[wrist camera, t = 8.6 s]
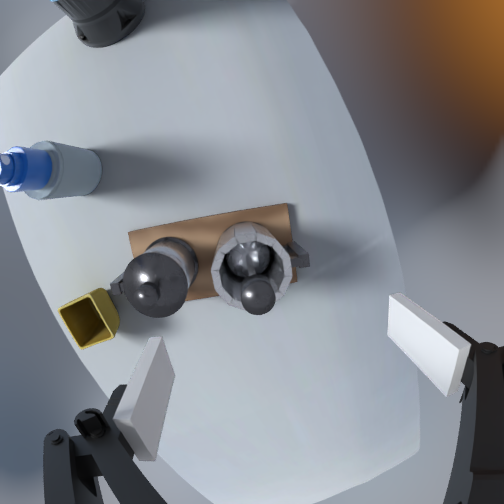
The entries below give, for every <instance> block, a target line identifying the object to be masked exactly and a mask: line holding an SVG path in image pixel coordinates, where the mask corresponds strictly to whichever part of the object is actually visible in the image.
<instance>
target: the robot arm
mask: <svg viewBox="0 0 504 504" xmlns="http://www.w3.org/2000/svg"><path fill="white" fill-rule="evenodd" d="M50 1H52V2H53V3H55V4H56V5H57V6H58V7H59V8H60V9H61V10H62V11H63V12H64V13H65V14H66V15H67V16H68V17H70V18H71V19H72V20H73V24H74V28H75V32H76V35H77V37H78V38H79V40H80V41H82V42H83V43H84V44H85V45H87V46H89V47H104V46H108V45H111V44H113V43H116V42H118V41H119V40H121V39H123V38H124V37H126V36H127V35H128V34H130V33H131V32H132V31H133V30H134V29H135V28H136V27H137V25H138V24H139V23H140V21H141V19H142V17H143V15H144V11H145V6H144V2H143V0H50ZM387 335H388V336H389V337H390V338H391V339H392V340H393V341H394V342H395V343H396V344H397V345H398V346H399V348H400V349H401V350H402V351H403V352H404V353H405V354H406V355H407V356H408V357H409V358H410V359H411V360H412V361H413V362H414V363H415V364H416V365H417V366H418V367H419V369H420V370H421V371H422V372H423V373H424V374H425V375H426V376H427V377H428V378H429V379H430V380H431V381H432V382H433V383H434V385H435V386H436V387H437V388H438V389H439V390H440V391H441V392H442V393H443V394H444V395H445V397H448V396H450V395H452V394H454V393H456V392H457V391H458V389H459V386H460V383H461V382H462V383H463V384H464V385H465V388H464V391H463V394H462V396H461V399H460V403H461V402H462V412H461V421H460V429H459V436H458V442H457V448H456V453H455V458H454V463H453V468H452V472H451V476H450V480H449V484H448V488H447V492H446V496H445V499H444V502H443V504H504V346H503V347H498V346H496V345H495V344H493V343H490V342H483V343H480V344H479V343H478V342H476V341H475V340H474V339H472V338H471V337H470V336H468V335H467V334H466V333H464V332H463V331H461V330H459V328H457V327H456V326H454V325H453V324H451V323H448V322H441V321H439V320H438V319H437V318H435V317H434V316H432V315H431V314H430V313H428V312H427V311H425V310H424V309H423V308H421V307H420V306H418V305H417V304H416V303H414V302H413V301H411V300H410V299H409V298H407V297H406V296H404V295H403V294H402V293H400V292H399V293H396V294H392V295H389V318H388V334H387ZM174 378H175V373H174V370H173V368H172V365H171V362H170V359H169V356H168V353H167V350H166V347H165V344H164V340H163V337H162V336H160V337H150V338H149V340H148V342H147V344H146V346H145V348H144V350H143V352H142V354H141V357H140V359H139V361H138V363H137V365H136V367H135V370H134V372H133V374H132V376H131V378H130V381H129V383H128V385H119V386H118V387H117V388H116V389H115V390H114V391H113V393H112V395H111V397H110V399H109V401H108V405H106V408H105V410H104V412H103V414H102V412H100V410H98V409H94V408H92V409H86V410H84V411H82V412H80V413H79V414H78V415H77V416H76V418H75V420H74V423H75V426H76V427H77V429H78V430H79V432H80V433H81V435H79V436H73V437H70V436H69V435H68V433H67V432H66V431H64V430H61V429H56V430H53V431H51V432H50V433H49V434H47V435H46V437H45V440H44V455H43V467H44V468H43V469H44V470H43V471H44V497H45V504H104V503H103V499H102V495H101V491H100V486H99V482H98V477H97V476H104V478H105V480H106V481H107V483H108V485H109V486H110V488H111V490H112V491H113V493H114V495H115V496H116V498H117V499H118V501H119V502H120V504H167V503H166V502H165V500H164V499H163V498H162V497H161V496H160V495H159V494H158V492H157V491H156V490H155V489H154V487H153V486H152V485H151V484H150V483H149V481H148V480H147V479H146V477H145V476H144V475H143V474H142V472H141V471H140V470H139V468H138V467H137V466H136V464H135V463H134V462H133V460H132V459H133V456H134V454H135V455H136V456H137V458H138V459H139V460H140V461H155V460H156V456H157V451H158V447H159V442H160V438H161V433H162V429H163V424H164V420H165V416H166V411H167V407H168V403H169V399H170V395H171V391H172V386H173V382H174ZM462 400H463V401H462Z"/></svg>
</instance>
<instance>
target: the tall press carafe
mask: <svg viewBox="0 0 504 504" xmlns="http://www.w3.org/2000/svg"><path fill="white" fill-rule="evenodd" d="M251 241H258V242H261V243H263V244H266V245H267V247H268V250H269V255H270V258H269V263H268V265H267V267H266V269H265V270H264V271H263V272H262V273H260V275H263V276H265V277H266V278H267V279H268V280H269V281H270V283H271V285H272V288H273V290H274V293H275V296H276V301H278V300H279V299H280V298H281V297H283V296H284V295H285V293H286V291H287V288H288V286H289V284H290V281H291V279H292V267H298V266H299V268H303V267H308V266H310V263H309V254H308V253H307V252H306V251H305V250H304V249H303V248H302V247H300V246H299V245H298V244H297V243H296V242H295V241H294V242H288V243H286V245H281V244H280V243H279V242H278V241H277V240H276V238H275V237H274V236H273V235H272V233H271V232H270V231H269V230H268V229H267V228H266V227H264V226H263V225H261V224H258V223H255V222H251V221H244V222H239V223H236V224H233V225H232V226H230V227H228V228H227V229H226V230H225V231H224V232H223V233H222V235H221V236H220V238H219V240H218V243H217V248H216V251H215V255H214V259H213V263H212V267H211V274H212V278H213V283H214V288H215V291H216V292H217V293H218V294H219V295H220V296H221V297H222V298H223V299H224V300H225V301H226V303H227V304H229V305H230V306H234V307H237V308H240V309H243V310H245V309H244V307H243V305H242V302H241V292H240V287H241V284H242V282H243V280H244V279H245V278H246V277H241V276H239V275H237V274H235V273H234V272H233V271H232V270H231V269H230V267H229V266H228V263H227V252H229V251H230V250H231V249H232V248H234V247H235V246H236V245H237V244H239V243H245V242H251ZM276 301H275V302H276Z"/></svg>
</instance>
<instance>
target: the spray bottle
mask: <svg viewBox="0 0 504 504" xmlns="http://www.w3.org/2000/svg"><path fill="white" fill-rule="evenodd" d="M101 175H102V165H101V161H100V159H99V157H98V156H97V154H96V153H94V152H93V151H91V150H87V149H83V148H79V147H74V146H70V145H65V144H60V143H55V142H51V141H42V142H38V143H36V144H34V145H33V146H31V147H30V148H26V147H18V146H16V147H12V148H11V149H10V150H8V151H7V152H4V153H3V154H1V153H0V186H3V187H4V188H5V189H6V190H7V191H9V192H19V191H24V192H25V193H26V194H27V195H28V196H29V197H31V198H34V199H37V200H45V199H53V198H63V197H72V196H83V195H87V194H89V193H91V192H92V191H93V190H94V189H95V188H96V187H97V185H98V183H99V182H100V179H101Z"/></svg>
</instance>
